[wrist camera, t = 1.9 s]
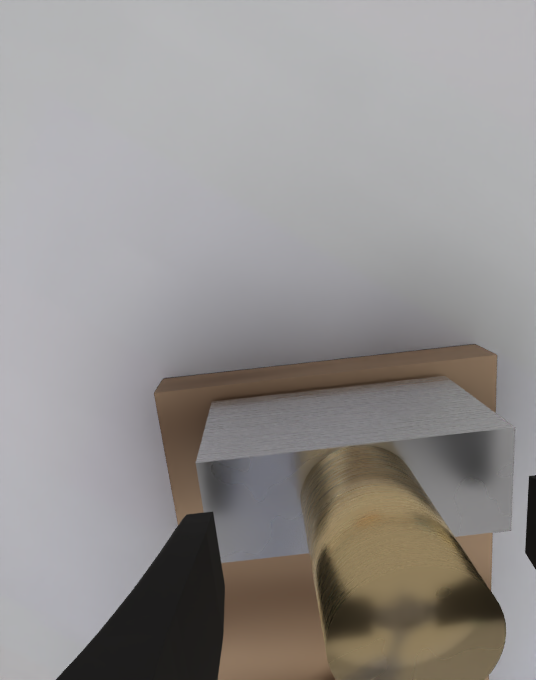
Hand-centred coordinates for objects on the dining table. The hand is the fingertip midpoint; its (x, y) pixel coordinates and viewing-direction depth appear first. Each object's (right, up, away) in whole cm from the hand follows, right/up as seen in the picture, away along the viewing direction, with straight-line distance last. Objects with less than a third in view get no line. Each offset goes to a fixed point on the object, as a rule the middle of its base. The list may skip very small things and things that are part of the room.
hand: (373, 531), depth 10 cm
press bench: (+1, -6, +9) cm, 11 cm away
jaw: (0, +1, +5) cm, 5 cm away
